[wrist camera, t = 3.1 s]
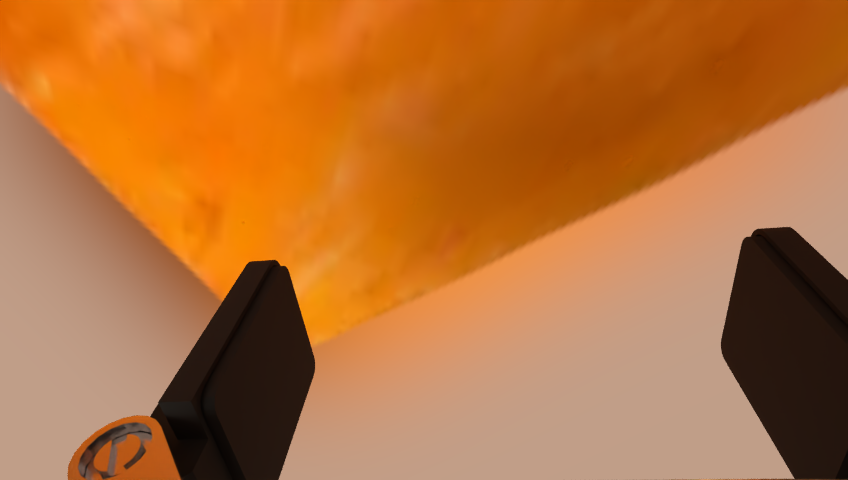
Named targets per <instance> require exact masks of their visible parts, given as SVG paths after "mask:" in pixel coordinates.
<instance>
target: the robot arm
mask: <svg viewBox="0 0 848 480" xmlns="http://www.w3.org/2000/svg"><path fill="white" fill-rule="evenodd" d="M721 350H722V354H723V357H724V359H725V361H726V363H727V365H728V366H729V368H730V370H731V371H732V373H733V375H734V377H735V378H736V380H737V382H738V383H739V385H740V387H741V388H742V390H743V392H744V394H745V395H746V397H747V399H748V400H749V402H750V404H751V405H752V407H753V409H754V411H755V412H756V414H757V416H758V417H759V419H760V421H761V422H762V424H763V426H764V427H765V429H766V431H767V433H768V434H769V436H770V437H771V439H772V441H773V443H774V444H775V446H776V448H777V450H778V451H779V453H780V455H781V456H782V458H783V460H784V461H785V463H786V465H787V467H788V468H789V470H790V472H791V473H792V475H793V477H794V478H795V479H682V480H848V280H847V279H846V278H845V277H844V276H843V275H842V274H841V273H839V271H838V270H837V269H835V268H834V267H833V266H832V265H831V264H830V263H829V262H828V261H827V260H826V259H825V258H824V257H823V256H822V255H820V254H819V253H818V252H817V251H816V250H815V249H814V248H813V247H812V246H811V245H810V244H809V243H808V242H806V241H805V240H804V238H802V237H801V236H800V235H799V234H798V233H797V232H796V231H795V230H794V229H792V228H790V227H782V228H781V227H780V228H765V229H757V230H755V231H754V232H753V233H752V235H751V237H746V238H745V239H744V240H743V242H742V246H741V250H740V254H739V259H738V264H737V269H736V273H735V278H734V283H733V288H732V292H731V297H730V301H729V306H728V311H727V316H726V321H725V325H724V330H723V334H722V339H721ZM314 372H315V359H314V355H313V352H312V348H311V345H310V342H309V338H308V335H307V331H306V328H305V325H304V321H303V318H302V315H301V311H300V308H299V304H298V301H297V298H296V294H295V291H294V288H293V284H292V281H291V277H290V274H289V271H288V269H287V267H285V266H280V264H279V263H278V261H276V260H267V261H252V262H249V263H248V264H247V265H246V266H245V268H244V270H243V271H242V273H241V274H240V276H239V277H238V279H237V280H236V282H235V284H234V285H233V287H232V288H231V290H230V291H229V293H228V294H227V296H226V298H225V299H224V301H223V302H222V304H221V305H220V307H219V308H218V310H217V312H216V313H215V315H214V316H213V318H212V319H211V321H210V322H209V324H208V326H207V327H206V329H205V330H204V332H203V333H202V335H201V336H200V338H199V340H198V341H197V343H196V344H195V346H194V348H193V349H192V350H191V352H190V354H189V355H188V357H187V358H186V360H185V362H184V363H183V364H182V366H181V368H180V369H179V371H178V372H177V374H176V375H175V377H174V379H173V380H172V382H171V383H170V385H169V386H168V388H167V389H166V391H165V393H164V394H163V396H162V397H161V399H160V400H159V402H158V403H159V404H158V405H157V407H156V408H155V410H154V411H153V413H152V414H151V416H150V417H149V416H138V415H137V416H131V417H126V418H122V419H120V420H117V421H115V422H112V423H110V424H108V425H106V426H105V427H103V428H101V429H100V430H98V431H96V432H95V433H94V434H93V435H91V436H90V437H89V438H88V439H87V440H85V441H84V442H83V443H82V445H81V446H80V447H79V448H78V449H77V451H76V452H75V453H74V455H73V457H72V459H71V461H70V463H69V466H68V480H278V479H279V476H280V473H281V471H282V468H283V465H284V462H285V459H286V455H287V453H288V450H289V446H290V444H291V441H292V438H293V435H294V432H295V429H296V426H297V423H298V420H299V417H300V414H301V411H302V408H303V405H304V402H305V400H306V396H307V394H308V391H309V387H310V385H311V382H312V379H313V376H314ZM671 480H676V479H671ZM677 480H681V479H677Z"/></svg>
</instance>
